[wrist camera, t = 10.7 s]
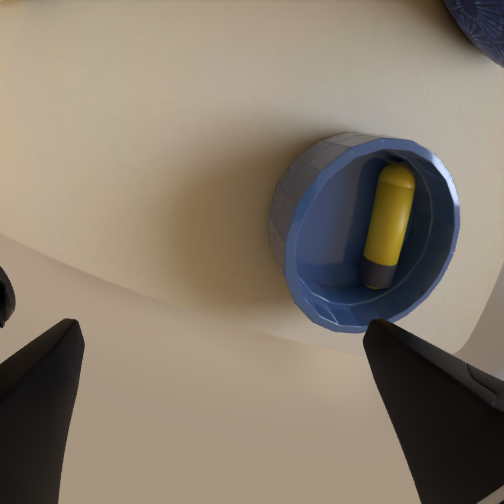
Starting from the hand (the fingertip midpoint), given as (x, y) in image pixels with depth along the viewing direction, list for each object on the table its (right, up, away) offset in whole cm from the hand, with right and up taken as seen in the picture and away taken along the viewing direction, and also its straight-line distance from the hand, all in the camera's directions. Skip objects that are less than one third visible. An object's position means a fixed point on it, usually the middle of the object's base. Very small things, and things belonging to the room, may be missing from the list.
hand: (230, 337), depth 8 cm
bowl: (+8, +5, +12) cm, 15 cm away
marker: (+9, +4, +10) cm, 14 cm away
